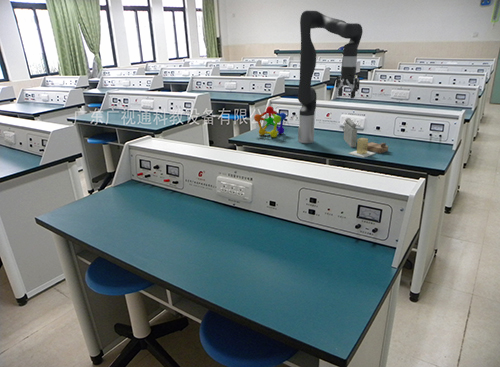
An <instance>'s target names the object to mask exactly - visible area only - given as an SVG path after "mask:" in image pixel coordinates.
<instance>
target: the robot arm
mask: <svg viewBox="0 0 500 367" xmlns="http://www.w3.org/2000/svg"><path fill="white" fill-rule="evenodd" d="M299 24H300V25H299V26H300V54H299V55H300V56H299V59H300V60H299V82H298V83H299V84H298V90H297V101H298V102H299V103H300V105H301V107H300V109H299V126H298V127H297V128H298V129H297V130H298V132H297V138H298V140H297V141H298V142H299V143H301V144H311V143H314V142H315V112H316V110H317V98H318V97H317V92H316V90H315V88H313V87H312V79H313V76H314V73H315V69H316V65H317V51H316V48H315V46H314V43H313V41H312V37H311V33H312V32H311V30H313V29H325V30H326V31H327V32H328V33H331V34H334V35H338V36H339V37H341V38H343V39H349V41H348V43H346V44H344V46H343V51H342V52H343V53H342V59H341V70H340V75H337V76H336V80H335V88H336V89H338V90H337V91H338V93H337V94H338V97H342V96H343V88H344V87H345V86H346V87H349V88H350V99H354V98H355V97H356V91H358V90H360V77H355V75H357V64H358V63H357V62H358V47H359V45H360V43H361V39H362V36H363V27H362V25H361V23H352V22H346V21H345V20H342V19H338V18H333V17H330V16H327V15H326V14H323V13H322V12H320V11H318V10H307V9H306V10H303V12H302V13H301V15H300V18H299Z"/></svg>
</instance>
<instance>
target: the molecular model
mask: <svg viewBox="0 0 500 367" xmlns="http://www.w3.org/2000/svg"><path fill="white" fill-rule="evenodd" d="M265 109H266V110H265V111H264V112H262V113H261V114H259V113H257V114H254V116H253V119H254V121H255V122H257V124H258V127H259V130H258V134H259V136H264V135H270V137H271V138H276V137H277V136H278V134H279V135H282V134H284V132H285V128H284V127H283V126H284V125H283V123H284V120H287V119H286V118H287V114H286V113H285V112H277V111H275V110H274V108H273V106H271V105H270V106H267V107H266V108H265ZM267 114H268V117H267V118H264V117H263V116H265V115H267ZM261 121H263V122H264V121H265V122H266V123H265V125H264V127H263V126H262V124H261ZM278 123H280V125H279V126H278ZM269 125H272V126H273V129H272V130H270V131H266V129H267V128H268V127H269Z"/></svg>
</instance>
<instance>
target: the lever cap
mask: <svg viewBox="0 0 500 367" xmlns="http://www.w3.org/2000/svg"><path fill="white" fill-rule="evenodd" d="M356 143H357V144H356V150H357V153H359V154H365V153H367V148H368V143H369V138H366V137H359V138H357V140H356Z"/></svg>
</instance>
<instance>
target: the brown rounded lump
mask: <svg viewBox="0 0 500 367" xmlns="http://www.w3.org/2000/svg"><path fill="white" fill-rule="evenodd" d="M367 151H369V152H373V153H375V154H380V155H381V154H384V153H387V152H389V145H387V144H386V142H380V143H376V142H372V141H370V142H369V141H368V148H367Z"/></svg>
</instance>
